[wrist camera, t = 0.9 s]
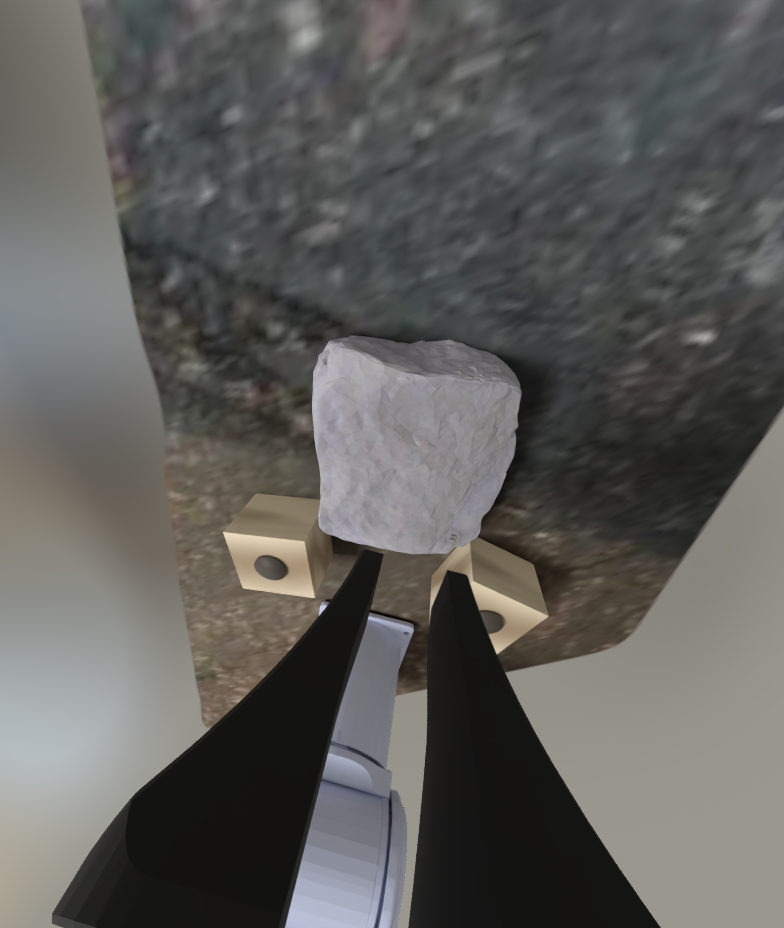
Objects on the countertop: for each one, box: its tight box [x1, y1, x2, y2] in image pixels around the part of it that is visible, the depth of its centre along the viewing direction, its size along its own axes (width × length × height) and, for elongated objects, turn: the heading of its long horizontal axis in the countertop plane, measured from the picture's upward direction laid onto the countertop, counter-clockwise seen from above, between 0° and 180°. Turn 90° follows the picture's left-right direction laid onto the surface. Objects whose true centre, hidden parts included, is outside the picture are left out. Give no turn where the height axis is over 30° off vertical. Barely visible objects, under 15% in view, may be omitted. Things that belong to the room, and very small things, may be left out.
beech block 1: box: [223, 493, 333, 598], centre depth 22 cm, size 5×5×4 cm
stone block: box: [312, 336, 522, 554], centre depth 18 cm, size 12×5×10 cm
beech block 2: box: [429, 537, 548, 654], centre depth 21 cm, size 5×5×4 cm
